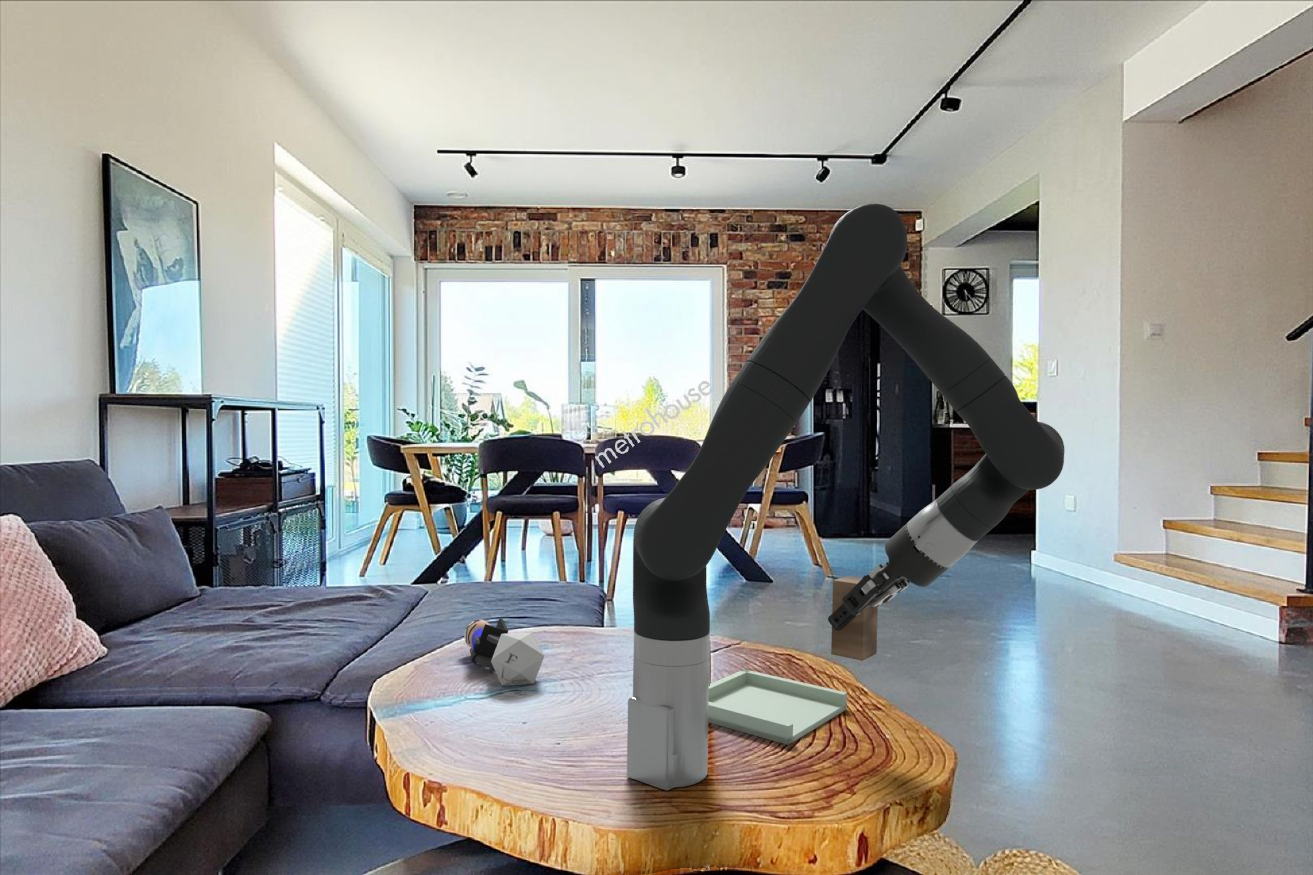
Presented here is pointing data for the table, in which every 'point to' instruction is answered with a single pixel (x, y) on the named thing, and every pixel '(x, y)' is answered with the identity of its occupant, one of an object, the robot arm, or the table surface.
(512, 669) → the die
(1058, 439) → the robot arm
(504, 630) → the character figurine
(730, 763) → the table surface
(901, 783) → the table surface
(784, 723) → the tray
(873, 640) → the block
